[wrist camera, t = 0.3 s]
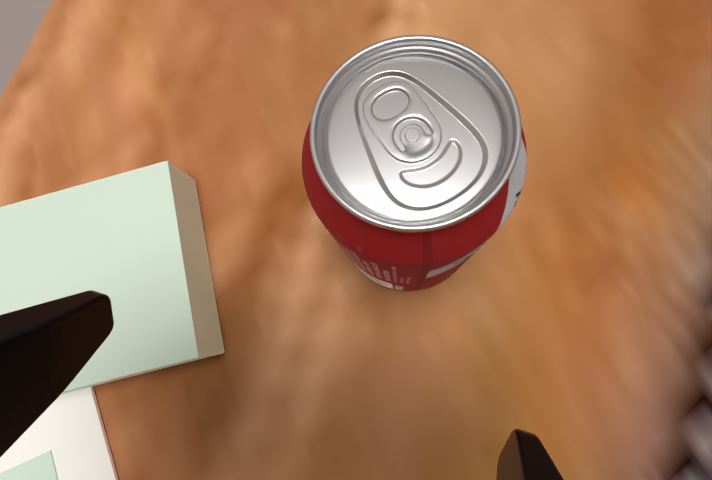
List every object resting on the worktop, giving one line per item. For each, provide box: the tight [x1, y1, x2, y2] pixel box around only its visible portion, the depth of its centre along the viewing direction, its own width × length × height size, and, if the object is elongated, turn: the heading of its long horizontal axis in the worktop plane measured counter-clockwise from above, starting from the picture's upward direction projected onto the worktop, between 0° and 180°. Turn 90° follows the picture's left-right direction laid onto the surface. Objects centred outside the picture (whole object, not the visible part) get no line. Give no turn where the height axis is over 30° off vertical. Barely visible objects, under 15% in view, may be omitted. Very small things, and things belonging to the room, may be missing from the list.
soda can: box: [302, 35, 527, 291], centre depth 17 cm, size 7×7×12 cm
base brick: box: [0, 161, 225, 394], centre depth 22 cm, size 10×10×3 cm
